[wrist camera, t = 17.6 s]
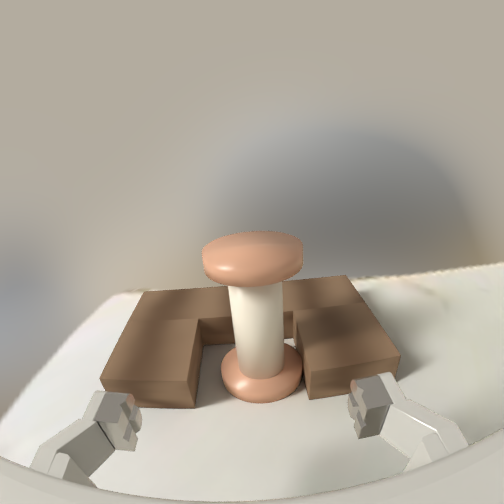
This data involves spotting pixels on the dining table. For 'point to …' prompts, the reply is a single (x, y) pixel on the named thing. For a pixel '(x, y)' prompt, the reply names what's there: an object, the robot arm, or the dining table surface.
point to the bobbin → (257, 311)
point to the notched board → (221, 332)
